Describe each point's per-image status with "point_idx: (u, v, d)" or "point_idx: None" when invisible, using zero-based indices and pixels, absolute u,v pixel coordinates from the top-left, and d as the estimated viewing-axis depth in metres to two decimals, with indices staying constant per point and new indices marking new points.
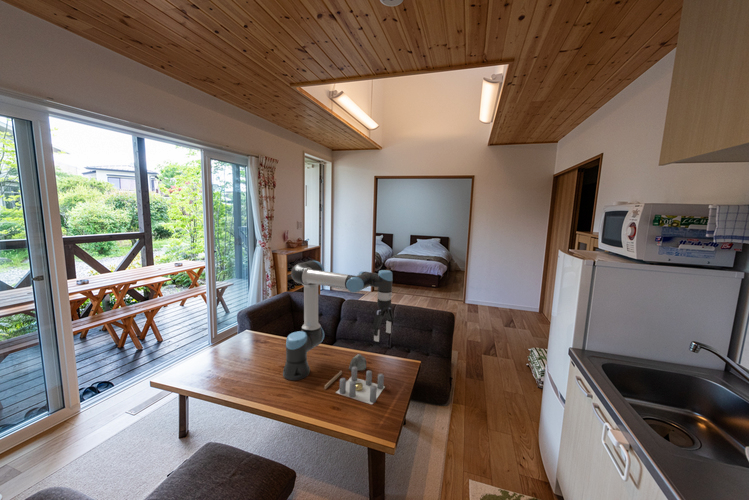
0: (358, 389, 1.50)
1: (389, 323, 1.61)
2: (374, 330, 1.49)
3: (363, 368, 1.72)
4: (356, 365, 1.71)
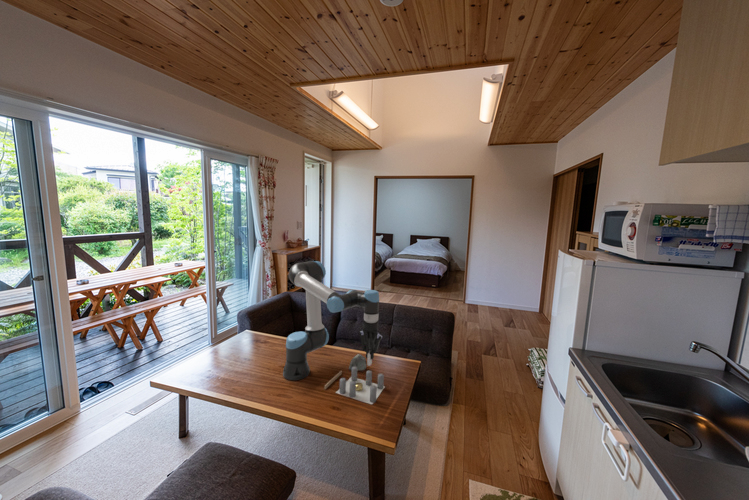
0: (358, 389, 1.50)
1: None
2: None
3: (363, 368, 1.72)
4: (356, 365, 1.71)
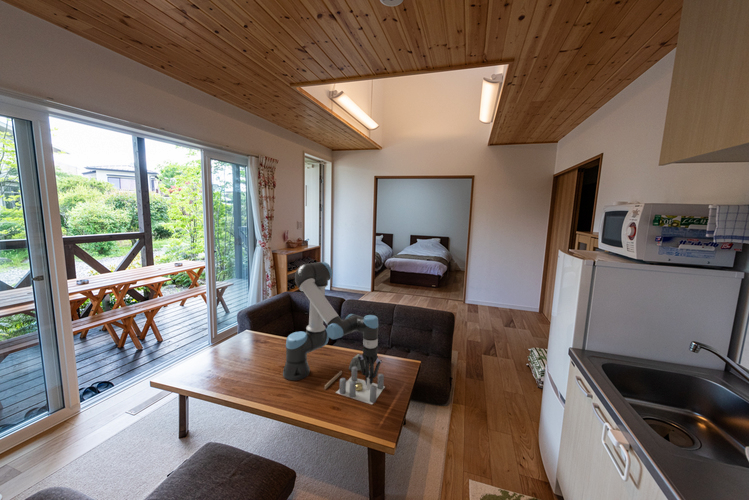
0: (358, 389, 1.50)
1: None
2: None
3: None
4: (356, 365, 1.71)
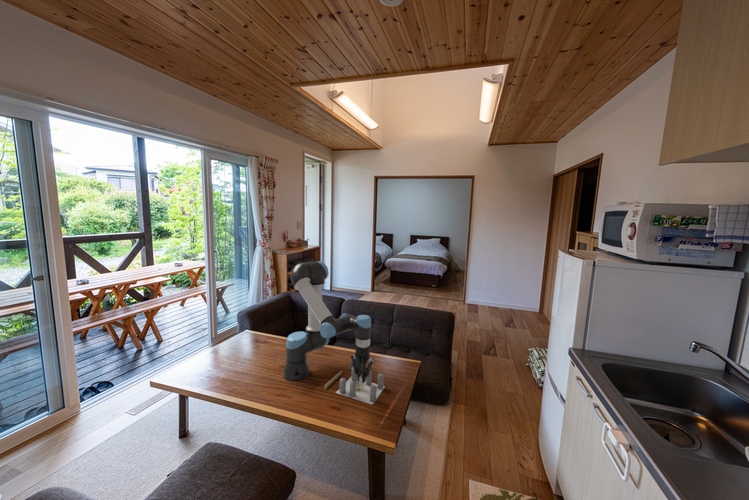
0: (356, 389, 1.51)
1: None
2: None
3: None
4: None
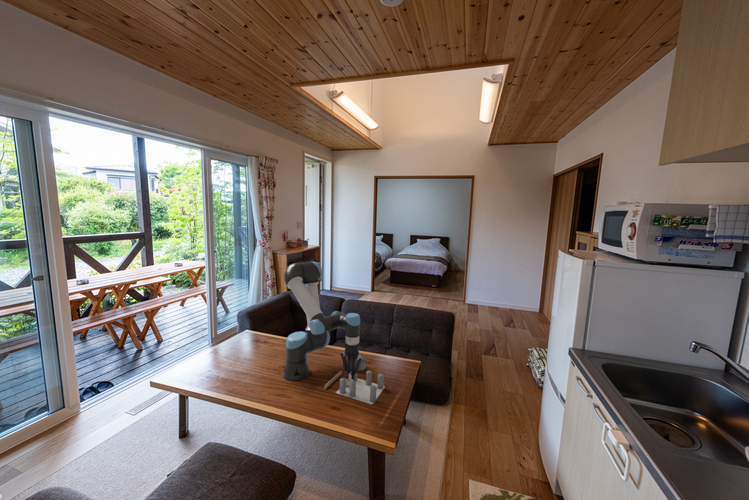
0: None
1: None
2: None
3: (363, 368, 1.72)
4: None
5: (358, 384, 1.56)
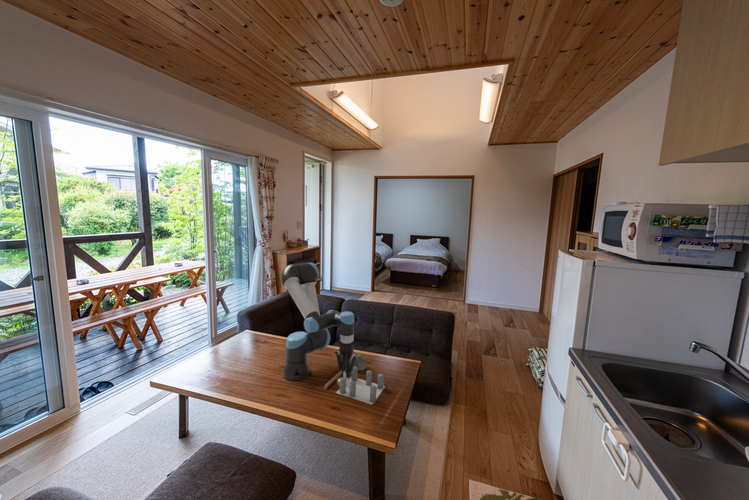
0: None
1: None
2: None
3: (363, 368, 1.72)
4: (356, 365, 1.71)
5: (358, 384, 1.56)
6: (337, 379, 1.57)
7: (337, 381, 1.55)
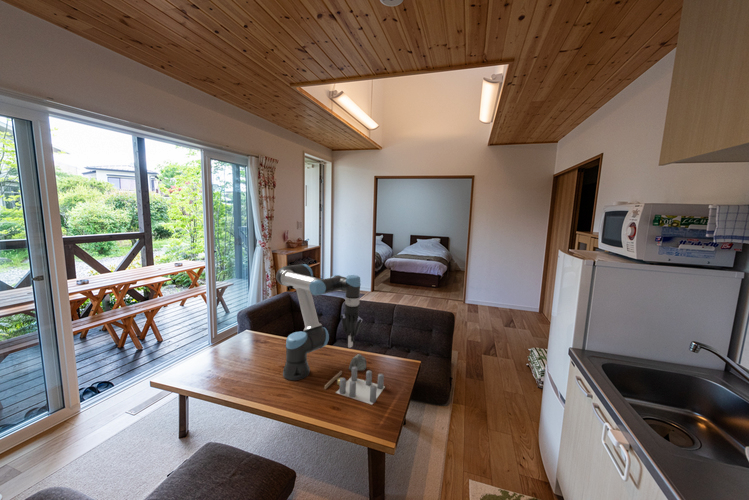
0: None
1: None
2: None
3: (363, 368, 1.72)
4: (356, 365, 1.71)
5: (358, 384, 1.56)
6: (337, 379, 1.57)
7: (337, 381, 1.55)
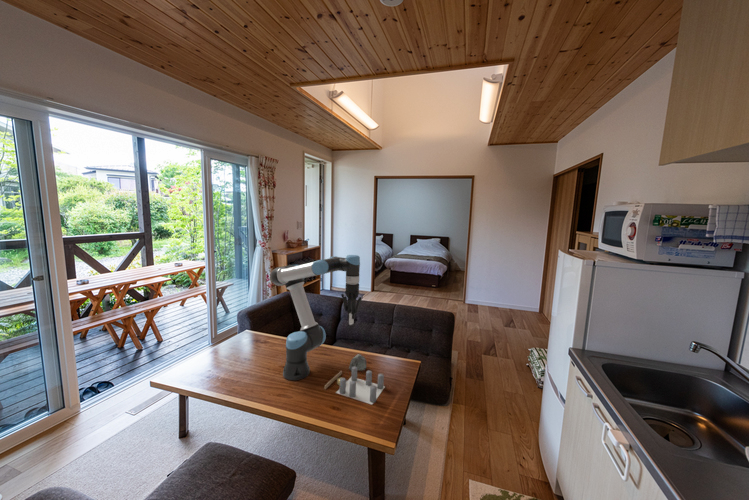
0: None
1: None
2: None
3: (363, 368, 1.72)
4: (356, 365, 1.71)
5: (358, 384, 1.56)
6: (337, 379, 1.57)
7: (337, 381, 1.55)
